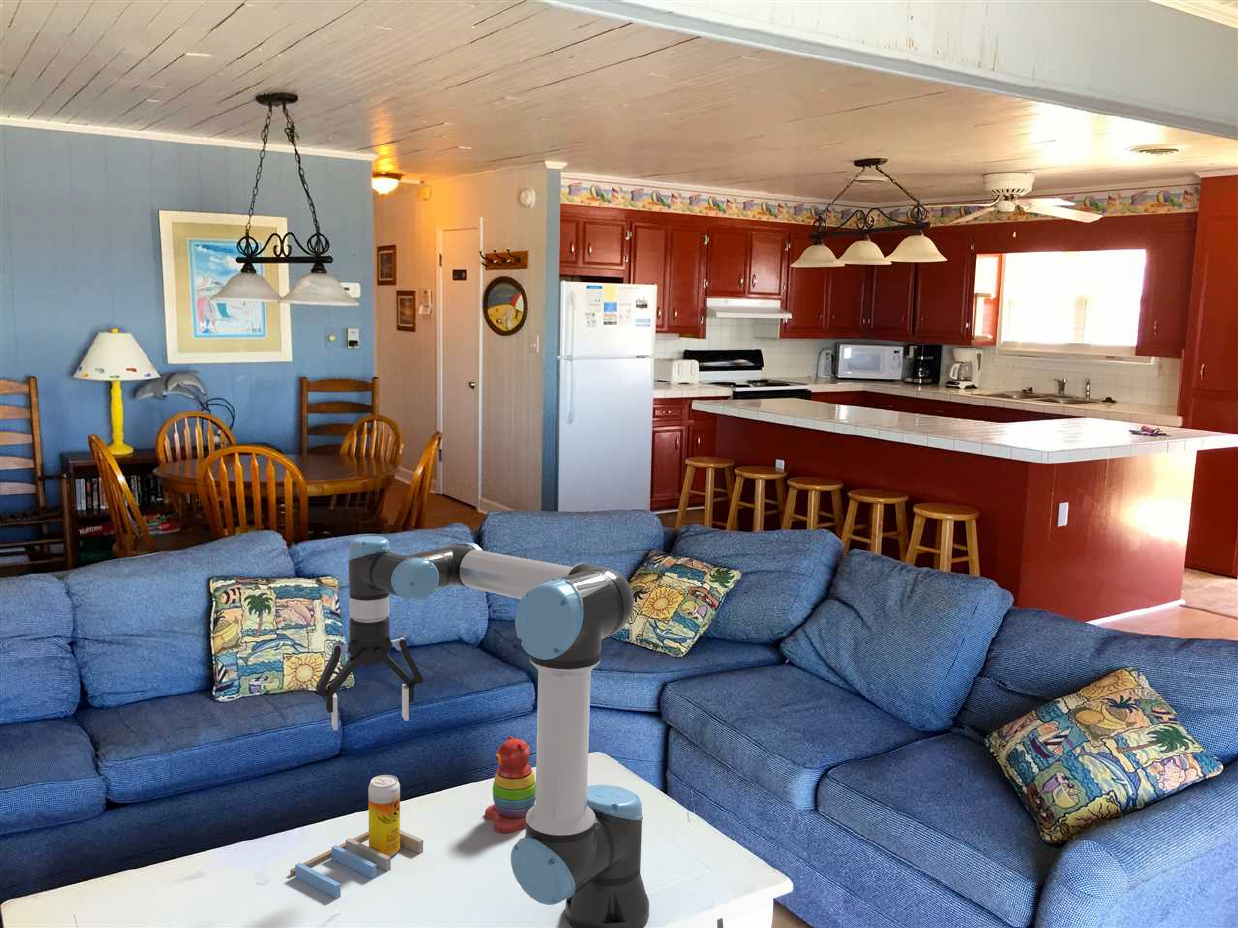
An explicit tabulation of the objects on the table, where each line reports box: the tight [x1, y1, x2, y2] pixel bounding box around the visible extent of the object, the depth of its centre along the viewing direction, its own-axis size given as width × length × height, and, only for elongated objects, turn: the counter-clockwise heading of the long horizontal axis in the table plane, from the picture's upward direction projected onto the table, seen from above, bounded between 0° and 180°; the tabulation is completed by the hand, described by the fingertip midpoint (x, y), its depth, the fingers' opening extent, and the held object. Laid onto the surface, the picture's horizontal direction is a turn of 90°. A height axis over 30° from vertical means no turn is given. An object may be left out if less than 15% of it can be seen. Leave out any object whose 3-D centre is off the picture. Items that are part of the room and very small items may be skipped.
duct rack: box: [290, 829, 424, 900], centre depth 197 cm, size 14×22×2 cm, turn 144°
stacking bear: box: [484, 735, 536, 834], centre depth 215 cm, size 11×10×18 cm
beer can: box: [367, 774, 401, 858], centre depth 201 cm, size 6×6×15 cm
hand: (370, 722), depth 197 cm, fingers open, 13 cm apart
